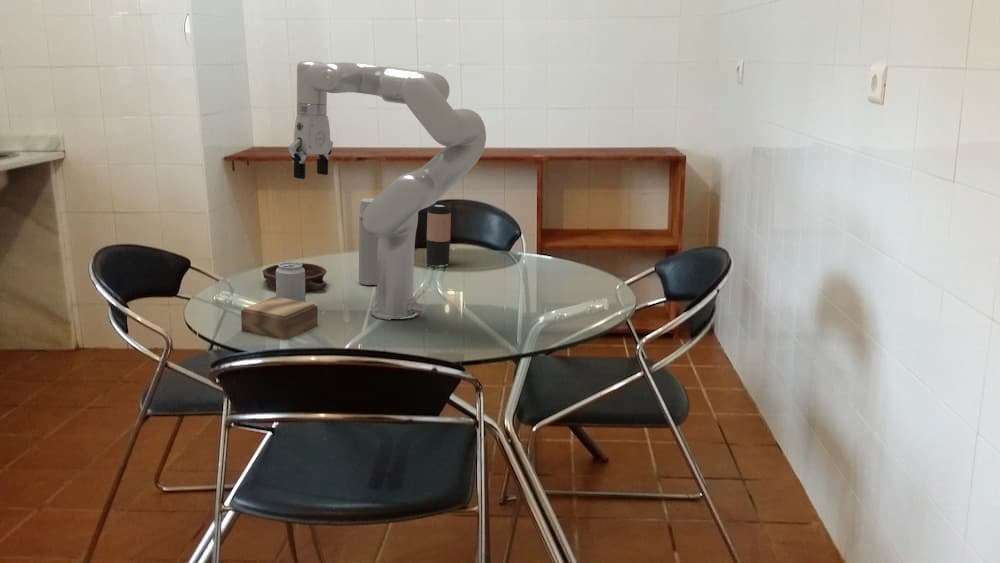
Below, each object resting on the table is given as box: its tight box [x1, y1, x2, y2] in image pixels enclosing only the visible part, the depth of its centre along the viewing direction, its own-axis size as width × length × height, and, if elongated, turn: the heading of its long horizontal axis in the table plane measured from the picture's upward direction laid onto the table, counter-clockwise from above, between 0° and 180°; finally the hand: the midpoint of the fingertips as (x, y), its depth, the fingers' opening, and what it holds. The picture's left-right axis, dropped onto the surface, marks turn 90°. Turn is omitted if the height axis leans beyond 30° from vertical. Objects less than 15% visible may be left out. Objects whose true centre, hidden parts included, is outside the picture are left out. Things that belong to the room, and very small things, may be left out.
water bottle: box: [358, 197, 379, 286], centre depth 255 cm, size 9×8×25 cm
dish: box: [262, 262, 327, 292], centre depth 251 cm, size 17×22×5 cm
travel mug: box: [426, 202, 452, 265], centre depth 280 cm, size 8×8×20 cm
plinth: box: [240, 296, 319, 340], centre depth 214 cm, size 13×13×6 cm
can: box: [275, 261, 306, 302], centre depth 229 cm, size 8×8×12 cm
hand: (311, 176), depth 228 cm, fingers open, 9 cm apart
